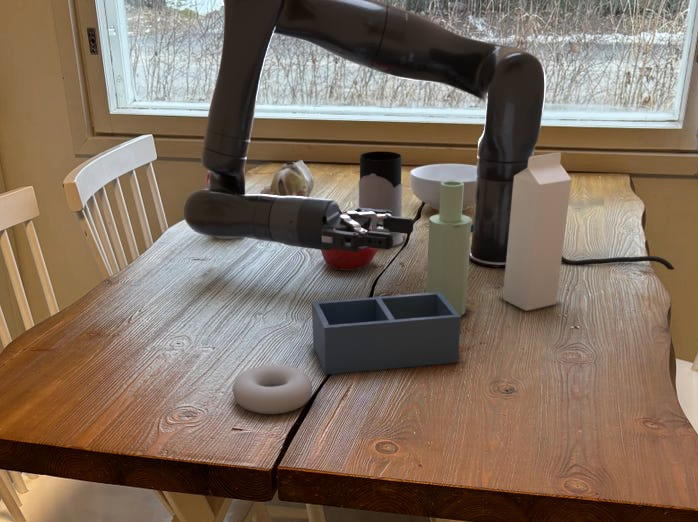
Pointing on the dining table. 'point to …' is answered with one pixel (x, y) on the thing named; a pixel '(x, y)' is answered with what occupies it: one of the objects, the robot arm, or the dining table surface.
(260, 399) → the donut
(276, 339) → the dining table surface
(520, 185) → the milk
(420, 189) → the cereal bowl
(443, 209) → the bottle
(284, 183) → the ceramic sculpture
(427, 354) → the blue divided storage box
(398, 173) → the glass holder
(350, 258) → the pomegranate
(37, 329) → the dining table surface
